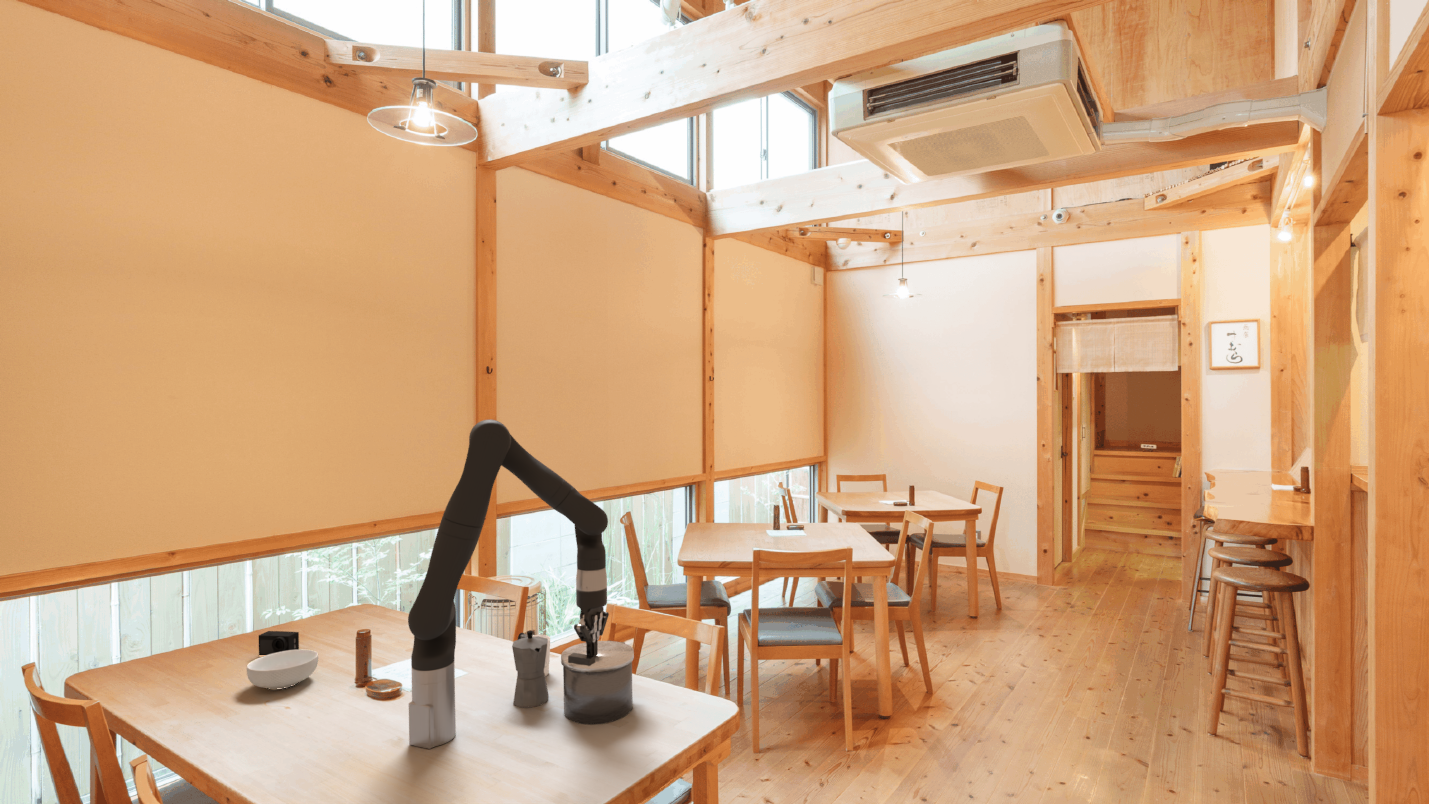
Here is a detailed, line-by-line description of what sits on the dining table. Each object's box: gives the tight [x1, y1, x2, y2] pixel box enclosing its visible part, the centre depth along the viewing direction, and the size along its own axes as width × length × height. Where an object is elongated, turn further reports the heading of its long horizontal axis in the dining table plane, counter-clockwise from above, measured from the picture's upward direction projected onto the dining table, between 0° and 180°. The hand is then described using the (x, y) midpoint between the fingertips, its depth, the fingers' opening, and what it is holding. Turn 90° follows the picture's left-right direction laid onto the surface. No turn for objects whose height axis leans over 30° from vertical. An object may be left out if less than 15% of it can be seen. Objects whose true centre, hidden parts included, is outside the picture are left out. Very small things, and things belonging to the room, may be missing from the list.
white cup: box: [532, 634, 551, 677], centre depth 195 cm, size 8×8×10 cm
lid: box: [560, 640, 635, 672], centre depth 173 cm, size 19×18×3 cm
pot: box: [562, 661, 634, 725], centre depth 174 cm, size 19×17×12 cm
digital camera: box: [258, 630, 300, 656], centre depth 212 cm, size 10×5×7 cm, turn 82°
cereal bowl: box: [246, 648, 319, 689], centre depth 191 cm, size 17×17×7 cm
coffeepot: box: [511, 630, 549, 709], centre depth 179 cm, size 15×9×18 cm, turn 33°
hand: (592, 656), depth 170 cm, fingers closed
